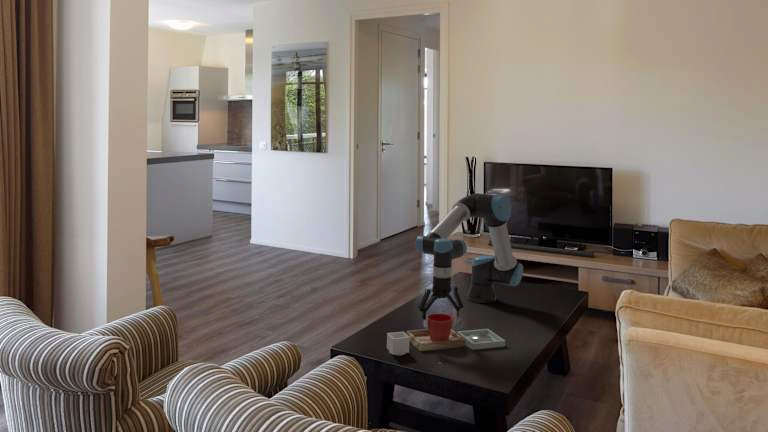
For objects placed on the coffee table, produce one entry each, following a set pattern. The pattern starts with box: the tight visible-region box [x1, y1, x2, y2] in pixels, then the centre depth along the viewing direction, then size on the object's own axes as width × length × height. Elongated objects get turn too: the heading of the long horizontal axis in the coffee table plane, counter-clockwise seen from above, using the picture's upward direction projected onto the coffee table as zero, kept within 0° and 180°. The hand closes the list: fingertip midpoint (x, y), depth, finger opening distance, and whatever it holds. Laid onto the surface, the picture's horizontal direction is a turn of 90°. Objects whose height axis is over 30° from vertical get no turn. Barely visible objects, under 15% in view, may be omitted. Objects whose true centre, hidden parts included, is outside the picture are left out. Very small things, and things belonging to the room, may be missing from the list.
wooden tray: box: [405, 328, 466, 352], centre depth 249 cm, size 16×20×3 cm
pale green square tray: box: [456, 328, 506, 351], centre depth 251 cm, size 15×15×2 cm
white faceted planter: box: [386, 331, 410, 356], centre depth 237 cm, size 7×7×7 cm
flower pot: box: [427, 313, 453, 342], centre depth 249 cm, size 11×11×10 cm
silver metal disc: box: [470, 333, 491, 342], centre depth 251 cm, size 9×9×1 cm
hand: (439, 325), depth 249 cm, fingers open, 12 cm apart
